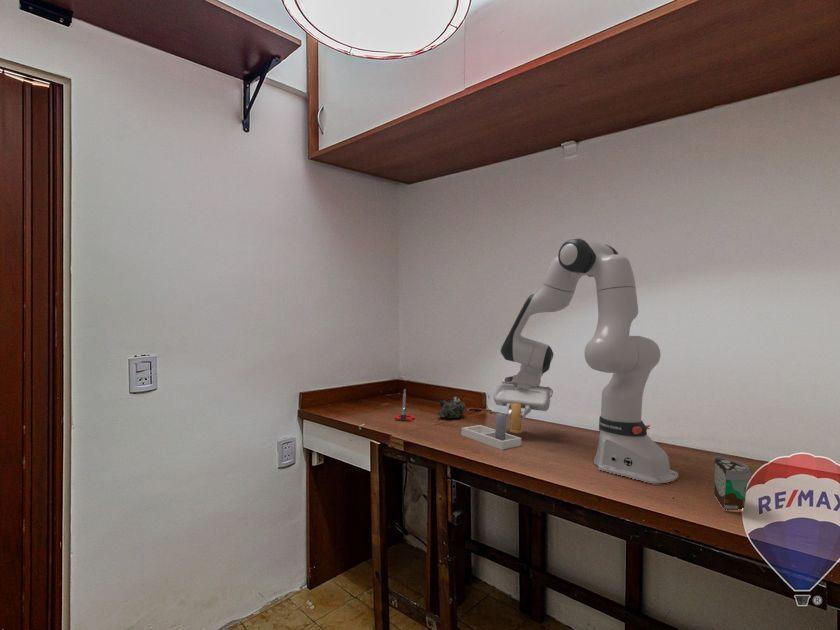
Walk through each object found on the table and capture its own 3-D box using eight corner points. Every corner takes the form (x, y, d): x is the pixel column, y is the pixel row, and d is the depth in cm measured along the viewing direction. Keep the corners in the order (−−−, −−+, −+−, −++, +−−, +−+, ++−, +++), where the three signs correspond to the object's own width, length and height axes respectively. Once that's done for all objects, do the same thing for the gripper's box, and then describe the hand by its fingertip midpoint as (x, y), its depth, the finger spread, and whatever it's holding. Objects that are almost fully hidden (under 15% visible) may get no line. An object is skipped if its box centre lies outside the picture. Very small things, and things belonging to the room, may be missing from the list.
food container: (758, 519, 100) (759, 474, 100) (725, 514, 102) (726, 470, 102) (741, 499, 112) (742, 458, 112) (712, 494, 114) (713, 455, 114)
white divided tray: (521, 448, 149) (521, 438, 149) (501, 452, 144) (502, 441, 144) (480, 434, 165) (480, 424, 165) (461, 437, 160) (461, 427, 160)
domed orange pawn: (524, 432, 157) (524, 404, 157) (516, 433, 155) (516, 405, 155) (516, 429, 160) (516, 402, 160) (507, 431, 158) (507, 403, 158)
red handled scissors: (396, 416, 192) (392, 420, 183) (397, 386, 192) (394, 388, 183) (416, 418, 191) (413, 422, 182) (417, 387, 192) (414, 390, 182)
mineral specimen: (431, 401, 200) (444, 384, 197) (454, 414, 203) (467, 397, 200) (433, 419, 186) (447, 401, 183) (458, 433, 189) (472, 416, 186)
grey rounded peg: (509, 444, 150) (509, 415, 150) (500, 446, 148) (501, 416, 148) (500, 441, 153) (500, 412, 153) (491, 442, 151) (492, 413, 151)
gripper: (556, 393, 161) (546, 425, 153) (503, 387, 173) (492, 417, 165) (552, 382, 157) (541, 415, 149) (498, 377, 169) (486, 407, 161)
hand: (515, 416), depth 157 cm, fingers closed on domed orange pawn, 3 cm apart
